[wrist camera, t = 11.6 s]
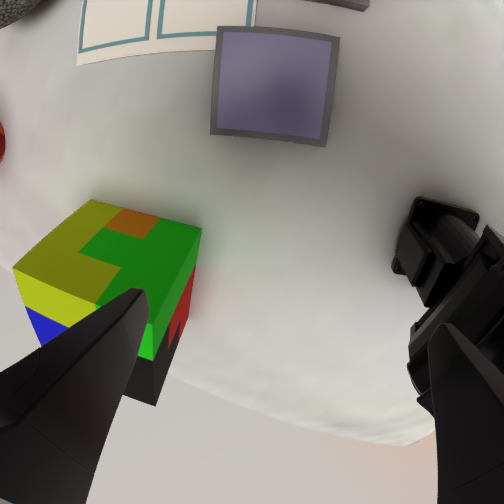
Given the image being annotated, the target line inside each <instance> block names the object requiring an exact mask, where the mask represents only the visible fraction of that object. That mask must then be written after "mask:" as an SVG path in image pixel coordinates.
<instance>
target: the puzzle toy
mask: <svg viewBox="0 0 504 504" xmlns="http://www.w3.org/2000/svg"><path fill="white" fill-rule="evenodd" d="M201 231H202V229H201V228H197V227H193V226H190V225H186V224H182V223H178V222H175V221H171V220H167V219H163V218H159V217H156V216H152V215H148V214H144V213H140V212H136V211H133V210H129V209H125V208H121V207H117V206H113V205H109V204H106V203H102V202H98V201H94V200H90V201H88V202H87V203H86V204H84V205H83V206H82V207H81V208H79V209H78V210H77V211H75V212H74V213H73V214H72V215H70V216H69V217H68V218H67V219H66V220H64V221H63V222H62V223H61V224H59V225H58V226H57V227H56V228H55V229H54V230H52V231H51V232H50V233H49V234H48V235H47V236H45V237H44V238H43V239H42V240H41V241H40V242H39V243H38V244H36V245H35V246H34V247H33V248H32V249H31V250H30V251H29V252H28V253H27V254H26V255H25V256H24V257H22V258H21V259H20V260H19V261H18V262H17V263H16V264H15V265H14V266H13V267H12V269H13V272H14V275H15V278H16V282H17V285H18V288H19V291H20V294H21V296H22V299H23V302H24V305H25V308H26V310H27V313H28V315H29V318H30V320H31V323H32V325H33V328H34V330H35V332H36V335H37V337H38V339H39V341H40V343H41V346H42V345H44V344H45V343H47V342H48V341H50V340H51V339H53V338H54V337H56V336H57V335H59V334H60V333H62V332H63V331H65V330H66V329H68V328H69V327H71V326H72V325H74V324H75V323H77V322H78V321H80V320H81V319H83V318H84V317H86V316H87V315H89V314H90V313H92V312H94V311H95V310H97V309H98V308H100V307H101V306H103V305H104V304H106V303H107V302H109V301H111V300H112V299H114V298H115V297H117V296H118V295H120V294H122V293H123V292H125V291H126V290H128V289H130V288H132V287H135V288H140V289H144V290H145V291H146V294H147V299H148V304H149V310H150V314H149V319H148V322H147V325H146V329H145V332H144V335H143V339H142V342H141V346H140V349H139V353H138V356H137V359H136V362H135V365H134V367H133V370H132V372H131V374H130V377H129V379H128V382H127V384H126V387H125V390H124V392H123V395H125V396H128V397H130V398H133V399H136V400H138V401H141V402H144V403H147V404H150V405H153V406H156V403H157V401H158V398H159V395H160V392H161V389H162V386H163V384H164V381H165V378H166V375H167V373H168V370H169V367H170V364H171V362H172V359H173V356H174V353H175V351H176V348H177V345H178V343H179V340H180V337H181V335H182V332H183V329H184V327H185V324H186V321H187V319H188V313H189V306H190V299H191V292H192V286H193V279H194V273H195V266H196V260H197V254H198V248H199V242H200V236H201Z"/></svg>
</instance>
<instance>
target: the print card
mask: <svg viewBox="0 0 504 504" xmlns="http://www.w3.org/2000/svg"><path fill="white" fill-rule="evenodd" d="M256 5H257V0H82V7H81V15H80V23H79V34H78V47H77V66H80V65H85V64H89V63H94V62H99V61H104V60H110V59H115V58H122V57H128V56H135V55H143V54H153V53H163V52H177V51H200V50H215V46H216V34H217V26H255V15H256Z"/></svg>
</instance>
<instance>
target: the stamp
mask: <svg viewBox="0 0 504 504" xmlns="http://www.w3.org/2000/svg"><path fill="white" fill-rule="evenodd" d="M306 1H313V2H319V3H325V4H330V5H335V6H340V7H345V8H350V9H354V10H358V11H362V12H363V11H365V10H366V9H367V8H368V7H369V0H306Z"/></svg>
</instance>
